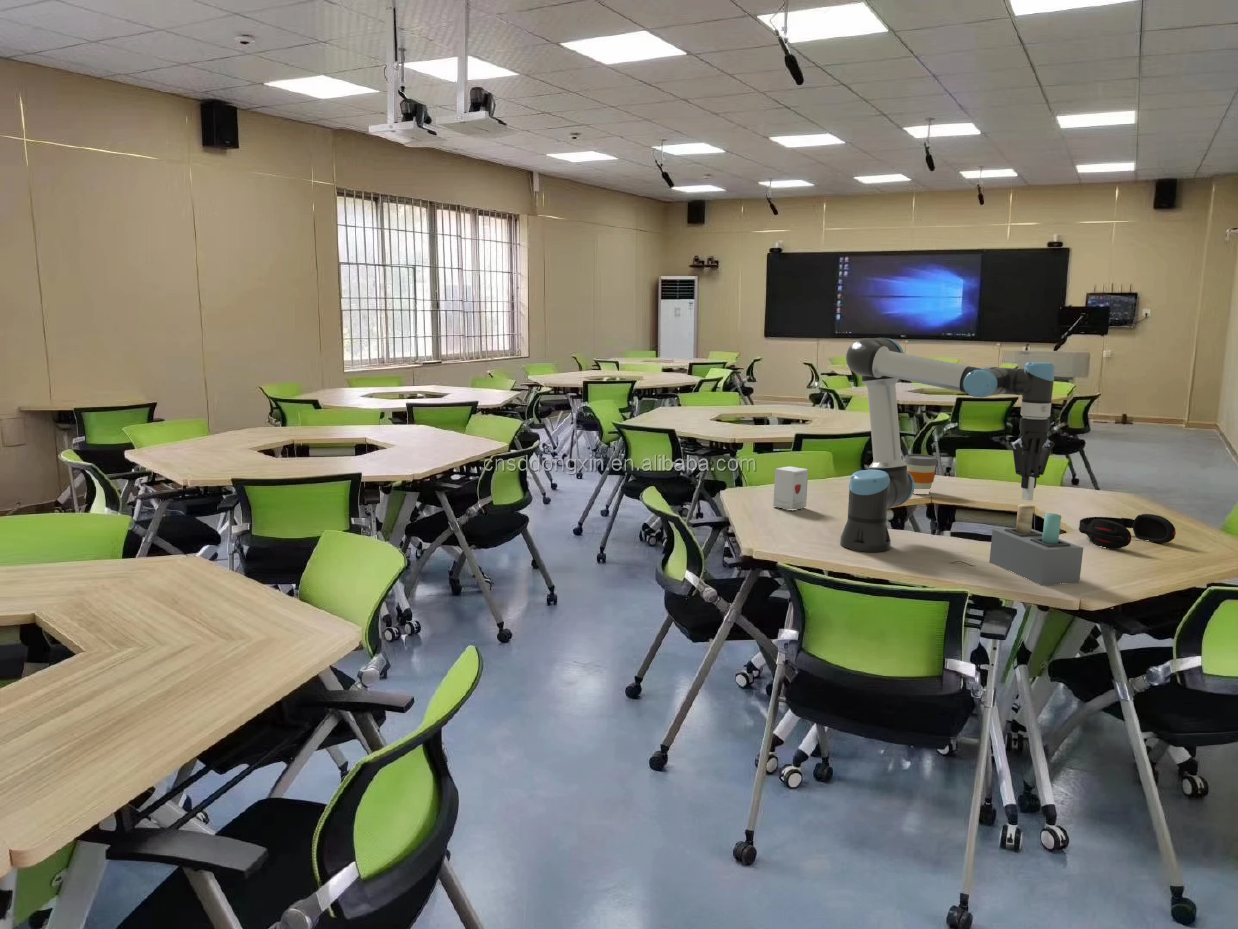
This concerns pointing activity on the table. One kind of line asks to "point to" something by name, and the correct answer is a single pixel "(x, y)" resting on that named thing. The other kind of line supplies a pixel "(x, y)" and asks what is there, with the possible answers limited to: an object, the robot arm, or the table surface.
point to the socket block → (1036, 557)
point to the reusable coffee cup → (921, 469)
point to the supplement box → (790, 487)
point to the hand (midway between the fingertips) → (1027, 499)
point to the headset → (1126, 530)
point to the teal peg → (1051, 528)
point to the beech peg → (1024, 519)
